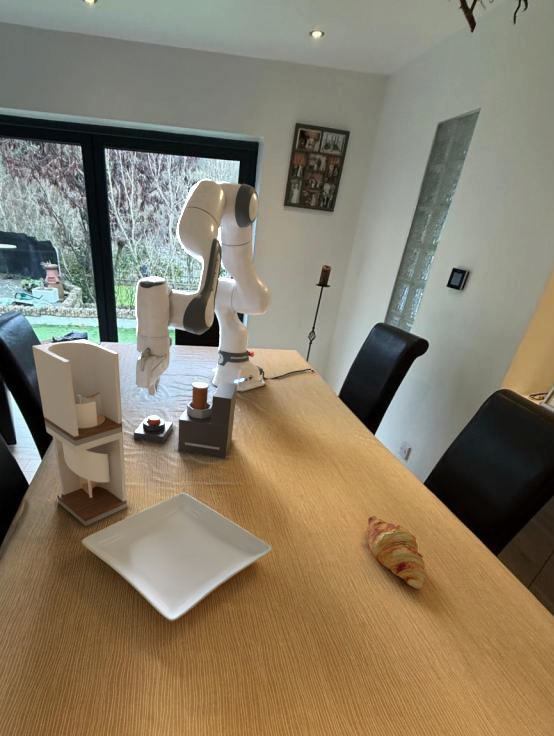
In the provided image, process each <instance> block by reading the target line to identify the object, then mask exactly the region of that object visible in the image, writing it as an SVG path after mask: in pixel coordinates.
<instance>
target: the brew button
mask: <svg viewBox="0 0 554 736" xmlns="http://www.w3.org/2000/svg"><path fill="white" fill-rule="evenodd" d="M147 418H148V424H151V425H157V424H160V419H161V417H160V416H159V415H154V414H151V415H149V416H147Z"/></svg>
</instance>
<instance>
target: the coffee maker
mask: <svg viewBox="0 0 554 736" xmlns="http://www.w3.org/2000/svg"><path fill="white" fill-rule="evenodd" d="M237 392H238V391H237V384H230V383H223V382H220V384H219V386H218V387H217V388H216V389H215V391H214V393H213V395H212V401H211V402H212V404H211V403H210V402H208V401H207V409H203V410H200V409H193V408H192V401H189V402H188V403H187V405H186V407H185V409H184V410H183V412H182V414H181V416H180V417H179V418H178V439H177V442H178V444H177V449H178V450H177V451H178V452H182V453H187V454H193V455H201V456H208V457H212V458H220V459H227V456H228V452H229V449H230V446H231V444H232V439H233V431H234V420H235V411H236V401H237Z"/></svg>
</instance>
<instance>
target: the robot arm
mask: <svg viewBox="0 0 554 736" xmlns="http://www.w3.org/2000/svg"><path fill="white" fill-rule="evenodd" d="M258 213H259V194H258V192H257V191H256V189H255V188H254V187H253V186H251V185H249V184H246V183H242V184H241V183H236V182H232V181H215V180H213V179H209V178H203V179H201V180H199V181H198V182H197V183H195V184H193V185H192V187H191V188H190V189H189V192H188V194H187V199H186V201H185V204H184V206H183V208H182V211H181V215H180V217H179V219H178V223H177V227H176V228H177V229H176V234H177V239H178V241H179V244H180V245H181V247H182V249H184V251H185V252H186V253H187V255H189V256H190V257H192V258H194V259H195V260H197V261H198V262H199V263H201V265H202V269H201V274H200V281H199V285H198V289H197V290H196V291H195V292H188V291H180V290H176V289H173V288H171V287H170V286H169V284H168V281H167V280H166V279H165V278H164V277H159V276H147V277H143V278H141V279H140V280H139V281H138V282H137V285H136V292H135V317H136V321H137V325H136V331H135V334H136V335H135V336H136V351H137V352H138V353H140V356H139V357H138V358H137V360H136V366H135V384H136V386H137V388H140V389H148V392H147V393H148V395H149V396H155V395H156V394H157V393H158V392H159V390H160V389H159V388H160V387H159V385H160V381H161V376H162V375H163V374H164V373H165V372H166V371H167V370H168V369H169V366H170V360H171V359H170V357H171V347H172V345H173V339H172V337H171V336H170V329H169V328H172V329H176V330H181V331H186V332H188V333H191V334H194V335H198V336H201V335H202V334H204V333H205V332H207V331H209V329H210V328H211V327H212V326H213V323H214V319H215V316H216V318H217V321H218V326H219V343H218V344H219V345H218V348H217V354H216V359H217V360H216V361H217V363H216V368H212V370H211V371H212V372H215V373H214V377H213V379H212V384H213V385H214V386H215V387H217V388H218V386H219V384H220V382H223V383H230V384H237V392H246V391H250V390H253V389H256V388H259V387H262V386H263V387H264V386H265V384H266V383H265V381H264V380H268V378H267V377H265V371H264V368H262V367H260V366H259V365H256V364H255V363H254V362H253V361H252V360H251V359H250V358H253V357H254V356H255V352H254V351H252V350H248V343H249V342H248V341H249V334H250V333H249V330H248V327H247V326H246V325H245V324H244V323H243V322H242V321H241V320H240V318H239V316H238V313H239V314H244V315H248V316H259V315H261V316H262V315H264V314H265V313H266V312H268V310H269V309H270V307H271V304H272V298H273V297H272V291H271V290H270V288H269V286H267V285H266V283H264V281H263V280H262V279H261V277H260V276H259V273H258V272H257V270H256V266H255V263H254V255H253V228H252V225H253V223H255V221H256V219H257V216H258ZM221 268H223V270H224V271H225V272H226V273H228V274H229V275H230V276H231V277H232V278H231V277H220V275H221ZM311 369H312V368H305V369H300V370H293V371H288V372H286V373H284V374H282V375H277V376H273V377H270V378H269V380H276V379H279V378H284V377H286V376H288V375H292V374H296V373H303V372H307V371H311V372H312V373H314V372H315V370H314V369H313V370H311ZM261 376H262V378H261Z"/></svg>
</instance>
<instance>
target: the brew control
mask: <svg viewBox="0 0 554 736" xmlns="http://www.w3.org/2000/svg"><path fill="white" fill-rule="evenodd" d="M173 426H174V422H173V421H166V420H164V419H163V418H160V424H157V425H151V424H148V417H147V418H146V417H145V418H144V419H143V421H142V422H141V423H140V424H139V425H138V426H137V428H136V429H135V430H134V432H133V439H134V440H138V441H144V442H145V441H146V442H151V443H158V444H164V443H165V441H166V440H167V438H168V436H169V435H170V433H171V432H172V431H173Z"/></svg>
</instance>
